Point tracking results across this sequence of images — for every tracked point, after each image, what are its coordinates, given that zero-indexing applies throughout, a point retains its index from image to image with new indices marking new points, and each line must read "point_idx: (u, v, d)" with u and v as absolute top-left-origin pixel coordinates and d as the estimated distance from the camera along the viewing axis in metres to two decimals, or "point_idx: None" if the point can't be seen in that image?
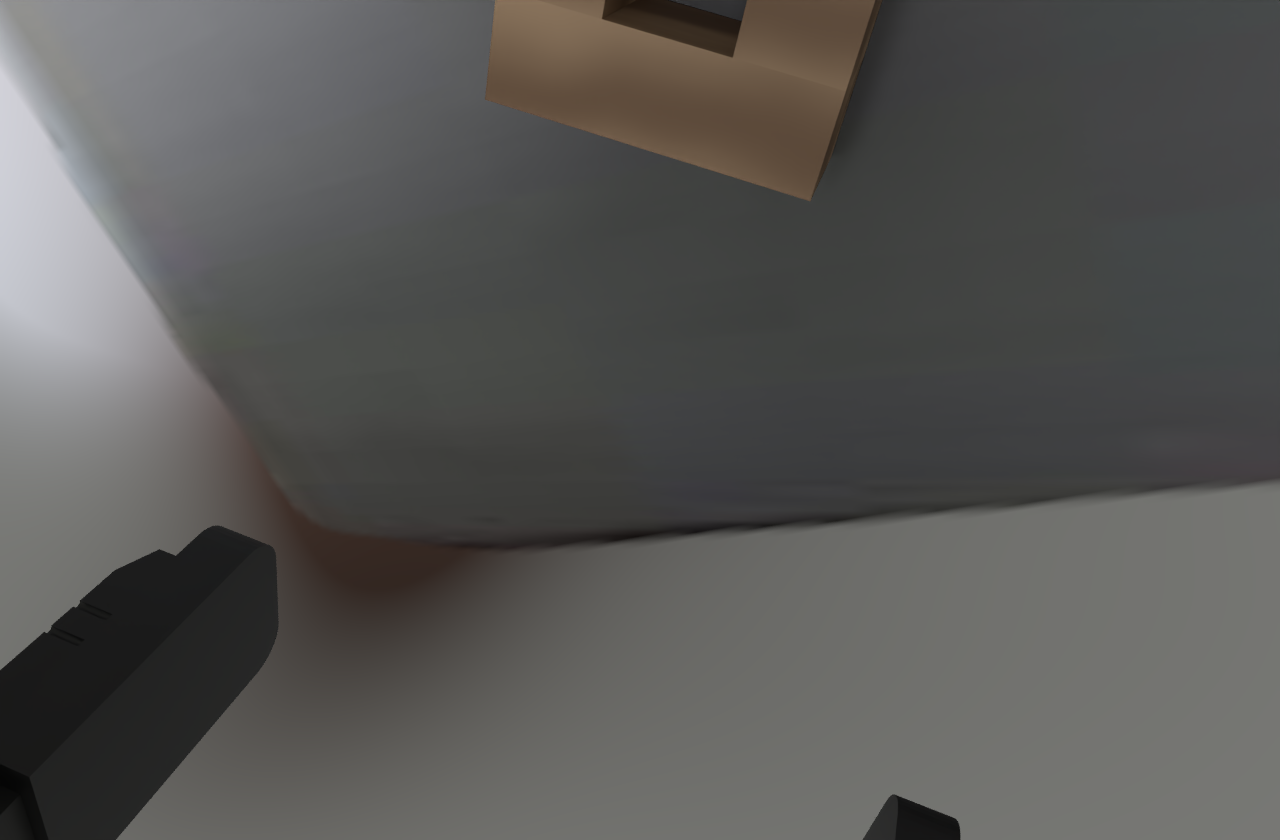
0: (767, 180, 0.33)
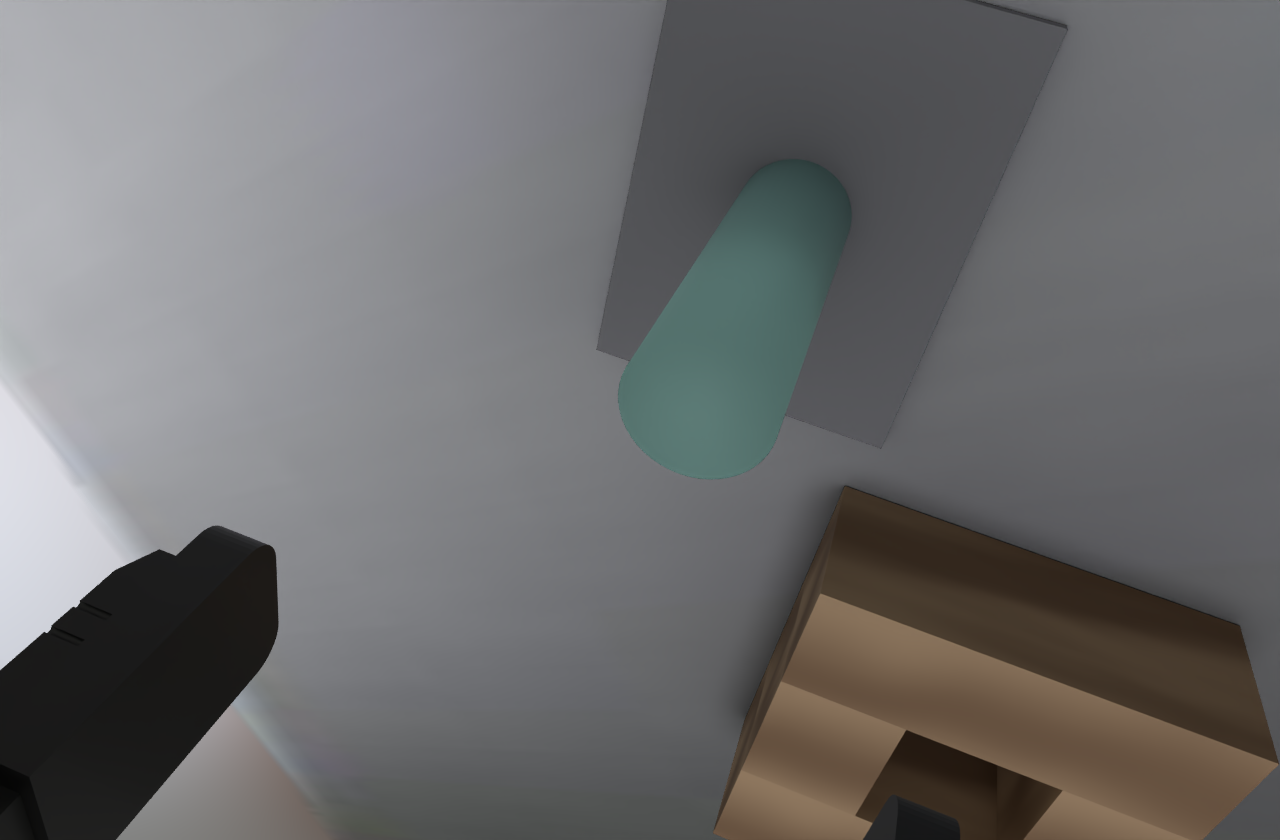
0: None
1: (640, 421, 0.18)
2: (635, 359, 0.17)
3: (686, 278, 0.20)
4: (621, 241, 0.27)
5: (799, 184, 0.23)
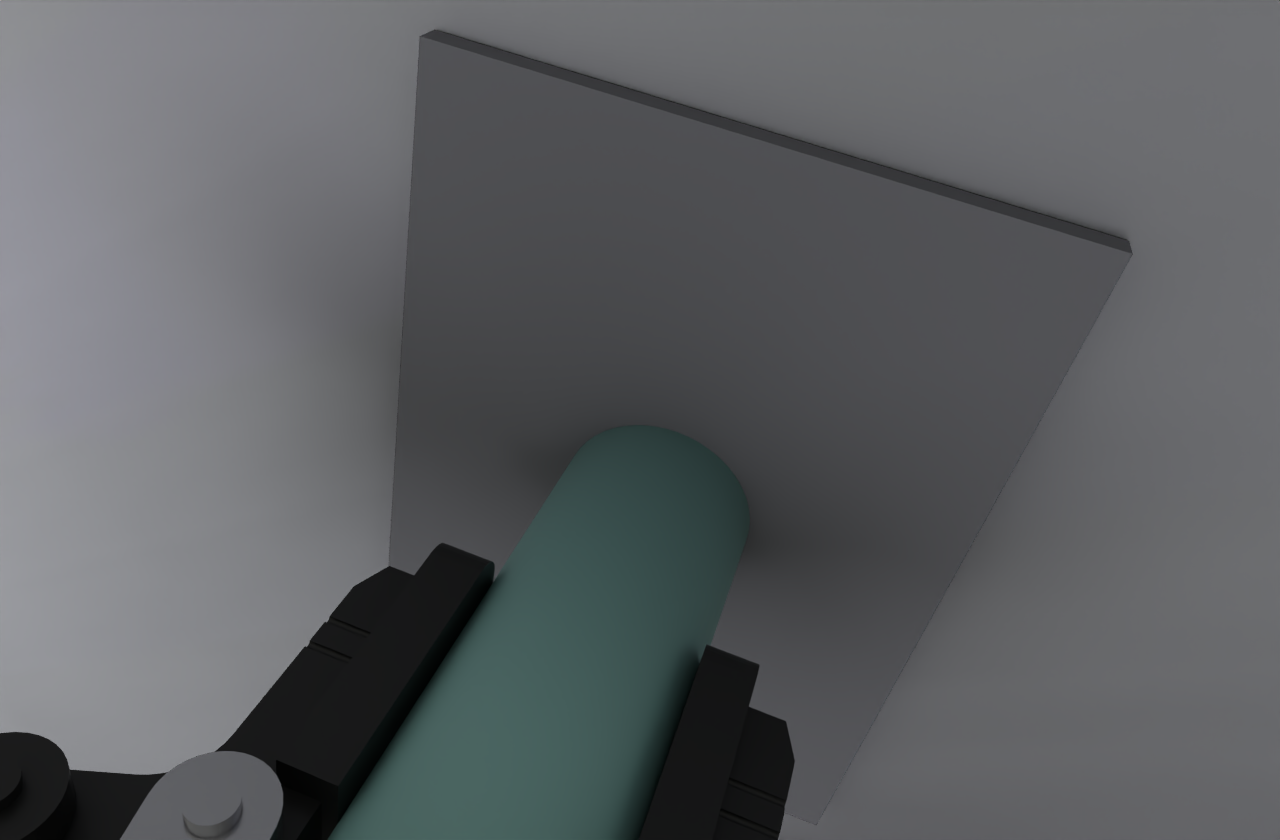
0: None
1: None
2: None
3: (351, 809, 0.09)
4: (395, 515, 0.17)
5: (640, 504, 0.13)
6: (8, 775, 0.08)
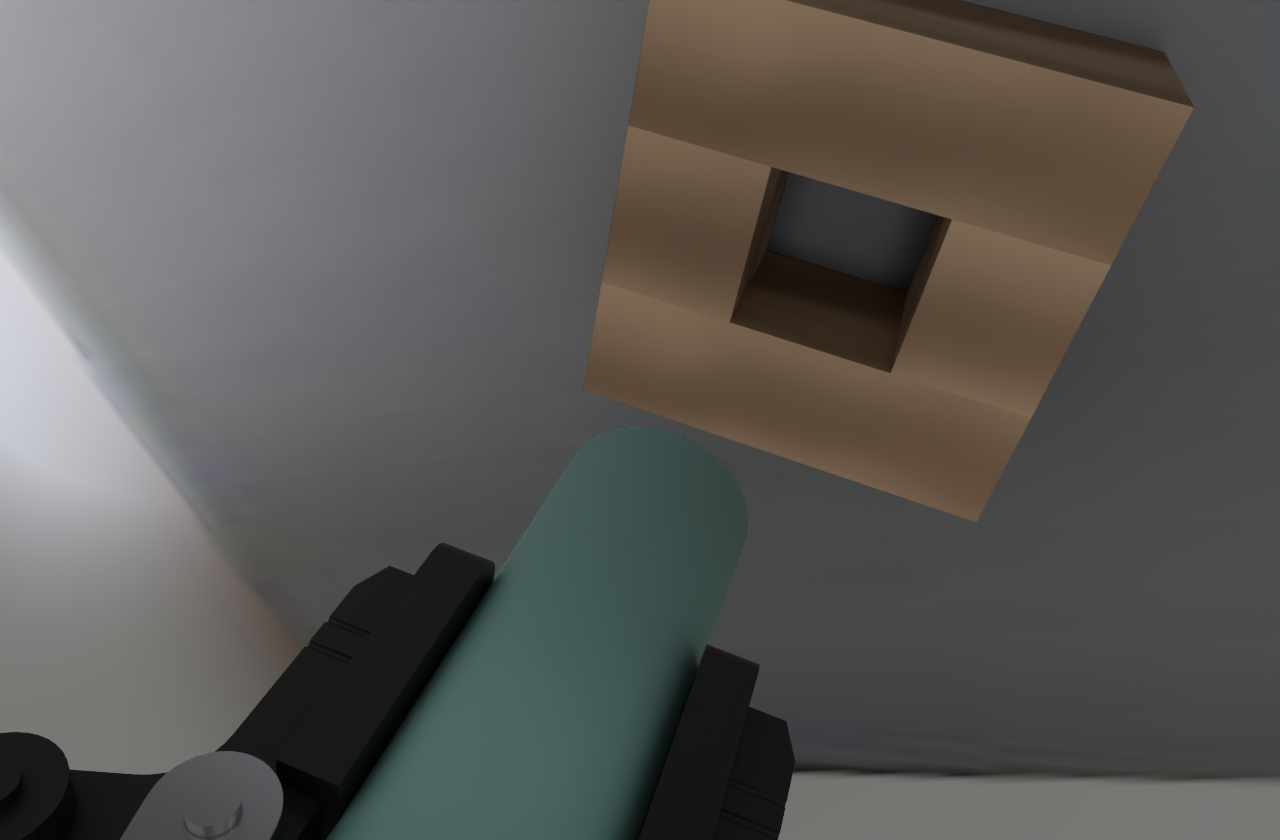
0: (924, 497, 0.27)
1: None
2: None
3: (350, 810, 0.10)
4: None
5: (638, 505, 0.13)
6: (7, 775, 0.08)
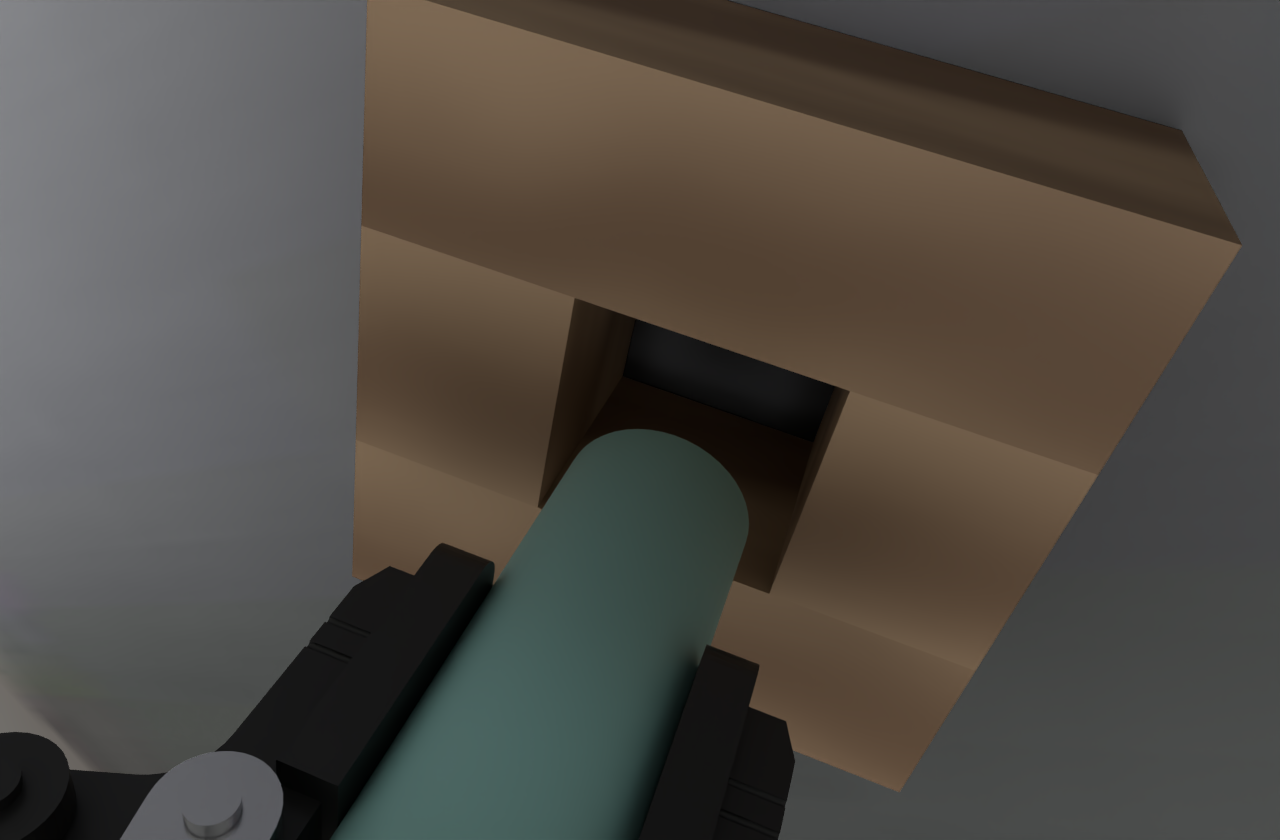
0: (825, 754, 0.19)
1: None
2: None
3: (351, 813, 0.10)
4: None
5: (639, 507, 0.13)
6: (8, 775, 0.08)
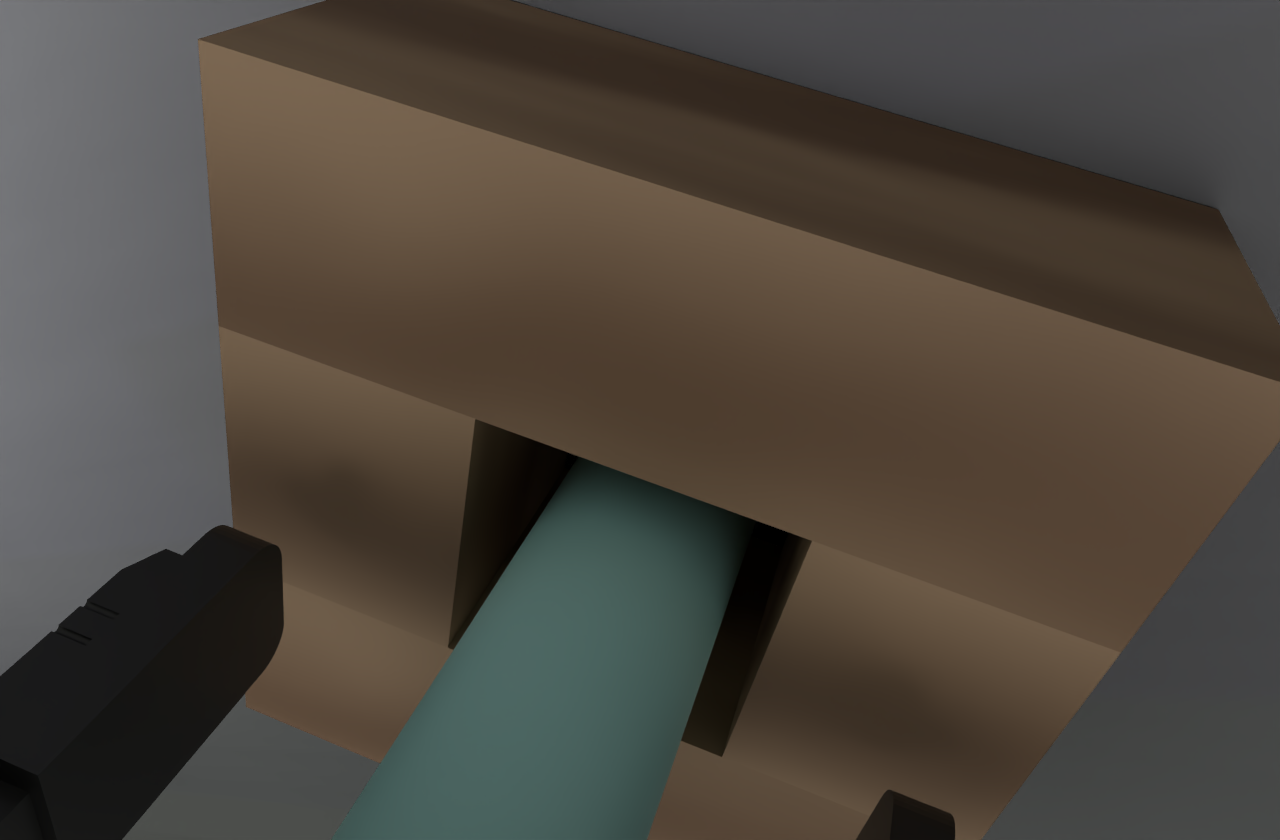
0: None
1: None
2: None
3: (478, 618, 0.12)
4: None
5: None
6: None
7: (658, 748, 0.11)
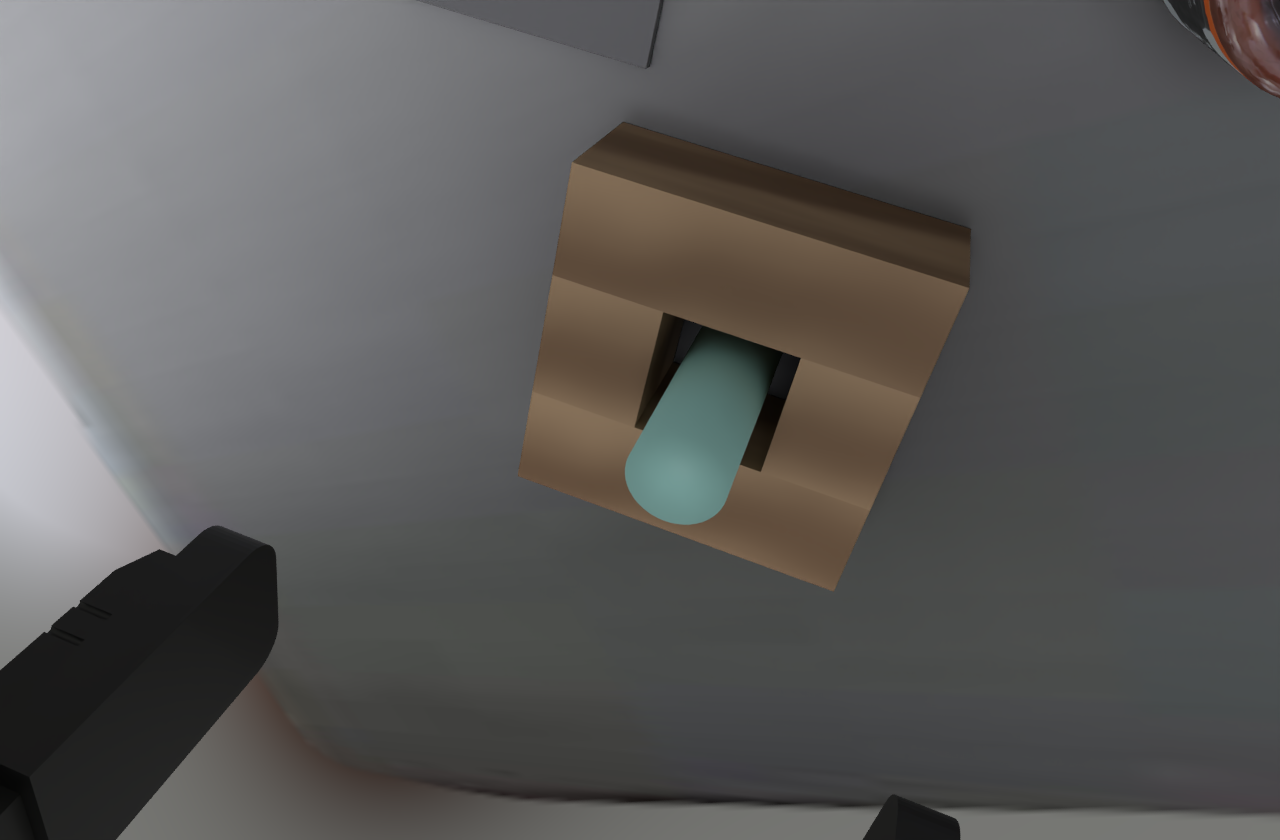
0: (792, 570, 0.34)
1: (639, 487, 0.27)
2: (636, 448, 0.27)
3: (669, 389, 0.29)
4: None
5: None
6: None
7: (744, 429, 0.28)
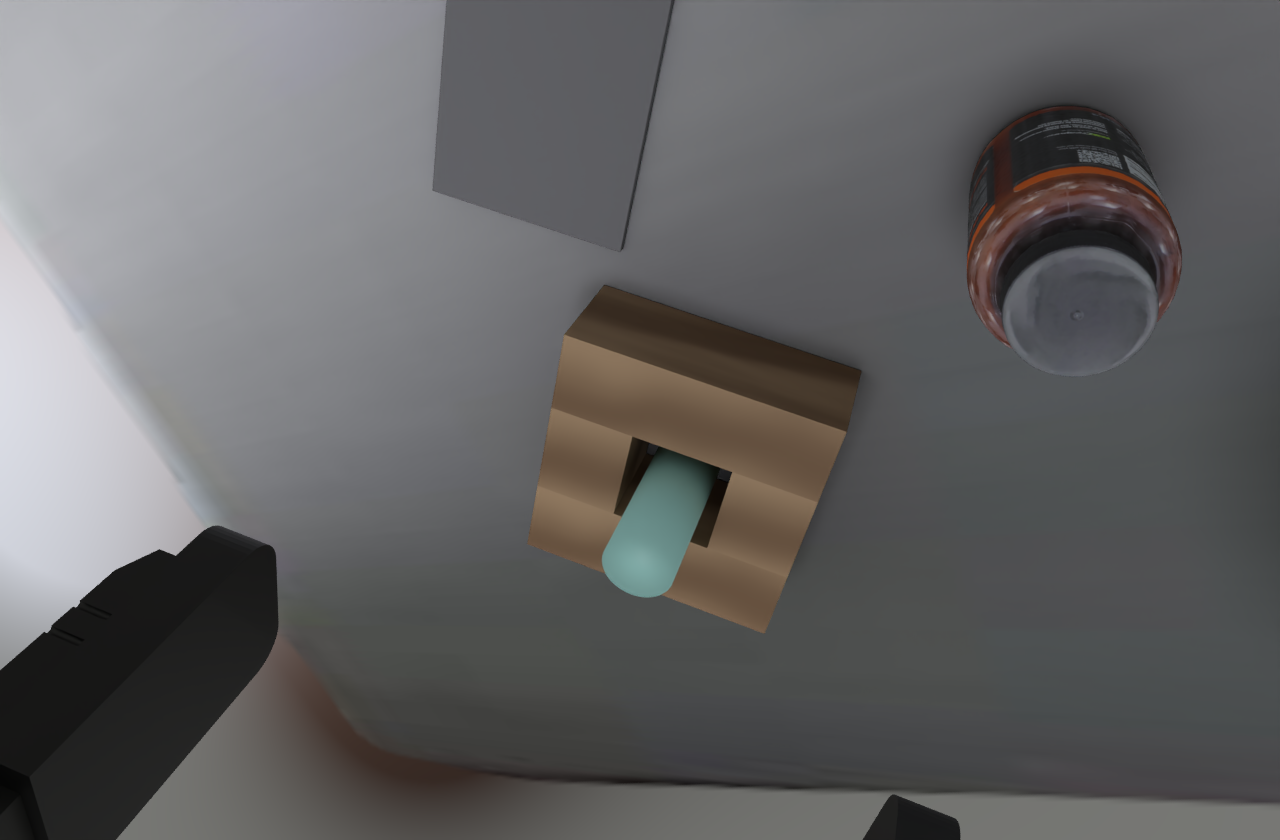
0: (733, 617, 0.45)
1: (612, 571, 0.39)
2: (609, 545, 0.38)
3: (635, 494, 0.41)
4: (440, 109, 0.41)
5: None
6: None
7: (689, 526, 0.40)
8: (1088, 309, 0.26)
